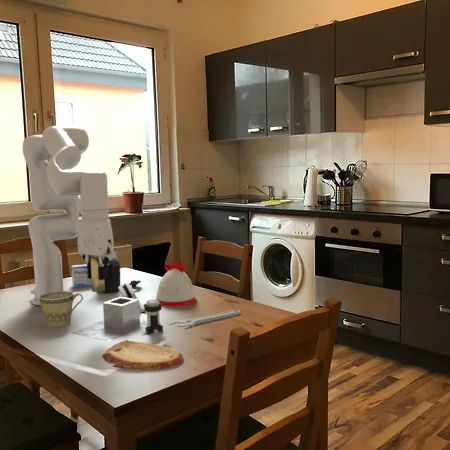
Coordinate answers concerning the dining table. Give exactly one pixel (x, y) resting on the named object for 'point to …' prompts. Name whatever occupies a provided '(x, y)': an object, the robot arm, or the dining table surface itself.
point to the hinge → (130, 295)
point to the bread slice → (142, 356)
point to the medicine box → (80, 276)
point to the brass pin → (96, 275)
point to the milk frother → (114, 277)
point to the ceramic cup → (58, 307)
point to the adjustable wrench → (205, 318)
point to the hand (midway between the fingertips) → (97, 277)
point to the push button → (153, 317)
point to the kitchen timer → (175, 287)
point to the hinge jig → (115, 320)
